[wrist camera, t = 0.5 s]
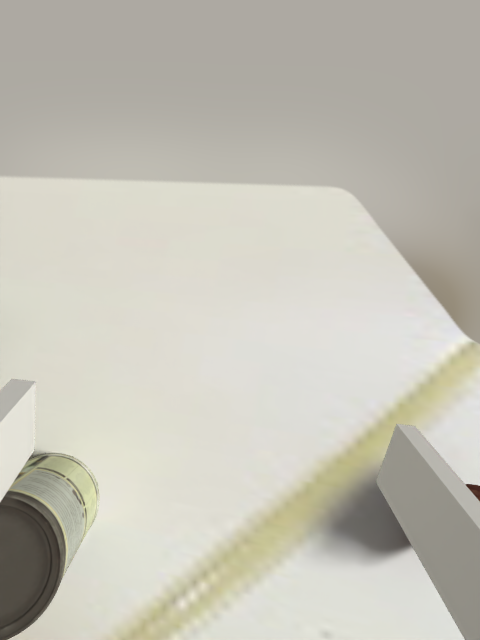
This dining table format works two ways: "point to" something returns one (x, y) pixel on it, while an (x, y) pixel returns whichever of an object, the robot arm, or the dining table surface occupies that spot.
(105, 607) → the dining table surface
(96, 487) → the coffee can
